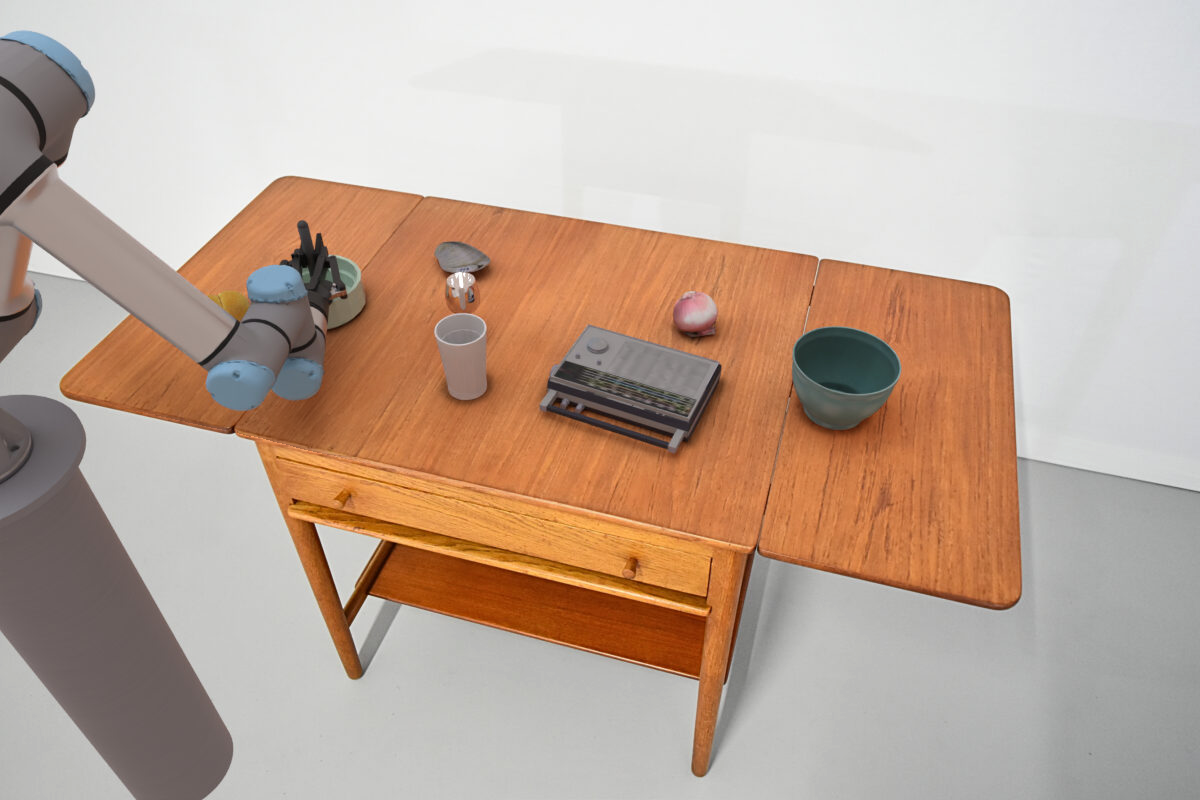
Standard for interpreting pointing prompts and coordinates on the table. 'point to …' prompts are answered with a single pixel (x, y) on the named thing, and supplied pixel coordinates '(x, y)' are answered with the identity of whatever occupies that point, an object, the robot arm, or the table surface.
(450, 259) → the seashell
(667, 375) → the radio
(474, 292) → the wineglass
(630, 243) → the table surface
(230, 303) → the bread roll
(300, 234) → the plunger
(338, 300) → the bowl
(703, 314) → the onion
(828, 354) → the flower pot
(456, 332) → the cup
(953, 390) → the table surface
